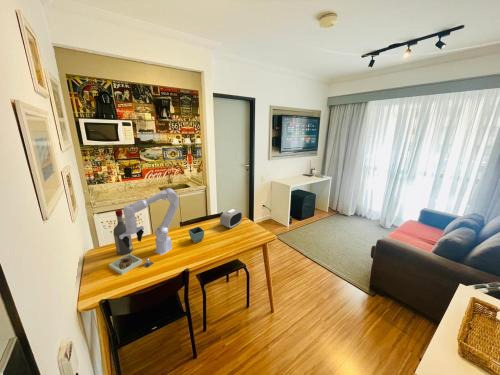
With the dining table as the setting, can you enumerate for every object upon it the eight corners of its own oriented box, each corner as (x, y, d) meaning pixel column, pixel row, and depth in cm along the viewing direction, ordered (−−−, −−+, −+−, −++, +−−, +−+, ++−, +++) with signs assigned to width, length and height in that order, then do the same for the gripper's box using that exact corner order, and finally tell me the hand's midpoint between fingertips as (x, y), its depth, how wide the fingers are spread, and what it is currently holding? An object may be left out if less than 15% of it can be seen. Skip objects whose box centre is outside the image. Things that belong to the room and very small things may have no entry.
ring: (132, 261, 127) (131, 257, 126) (129, 268, 122) (129, 263, 121) (122, 263, 126) (121, 258, 125) (119, 269, 120) (118, 265, 119)
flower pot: (194, 245, 148) (193, 234, 145) (188, 240, 154) (188, 229, 152) (204, 241, 153) (204, 230, 151) (199, 236, 160) (198, 226, 157)
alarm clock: (228, 230, 170) (228, 216, 166) (220, 227, 175) (219, 213, 171) (242, 222, 187) (243, 208, 183) (234, 219, 192) (234, 206, 188)
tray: (130, 257, 132) (129, 253, 132) (142, 263, 127) (142, 259, 126) (109, 268, 122) (108, 264, 121) (122, 275, 116) (121, 271, 115)
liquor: (117, 256, 132) (109, 214, 124) (117, 249, 139) (110, 209, 131) (133, 252, 137) (127, 211, 128) (132, 246, 144) (126, 206, 136)
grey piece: (148, 261, 129) (148, 255, 128) (154, 264, 127) (153, 257, 125) (141, 265, 125) (140, 259, 123) (146, 268, 122) (146, 262, 121)
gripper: (137, 218, 133) (140, 237, 137) (114, 227, 120) (118, 247, 124) (145, 221, 130) (147, 240, 133) (122, 230, 117) (125, 251, 121)
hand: (133, 244), depth 129 cm, fingers open, 7 cm apart
